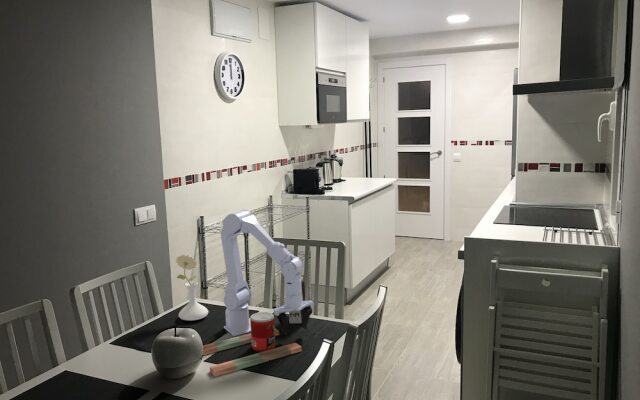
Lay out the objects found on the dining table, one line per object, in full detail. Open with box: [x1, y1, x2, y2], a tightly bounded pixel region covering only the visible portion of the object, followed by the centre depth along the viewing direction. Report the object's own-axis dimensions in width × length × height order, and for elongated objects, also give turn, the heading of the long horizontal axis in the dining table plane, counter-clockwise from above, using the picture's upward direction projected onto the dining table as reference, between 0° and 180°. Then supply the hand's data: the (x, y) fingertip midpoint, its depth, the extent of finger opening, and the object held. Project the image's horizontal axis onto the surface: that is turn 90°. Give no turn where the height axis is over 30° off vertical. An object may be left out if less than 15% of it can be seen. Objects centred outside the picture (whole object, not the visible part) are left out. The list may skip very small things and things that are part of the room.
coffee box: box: [288, 274, 308, 324], centre depth 198 cm, size 9×6×16 cm
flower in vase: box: [175, 254, 209, 322], centre depth 202 cm, size 13×11×25 cm
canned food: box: [249, 311, 276, 353], centre depth 174 cm, size 8×8×11 cm
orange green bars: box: [202, 327, 303, 377], centre depth 172 cm, size 20×30×2 cm, turn 122°
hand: (294, 330), depth 181 cm, fingers open, 7 cm apart
